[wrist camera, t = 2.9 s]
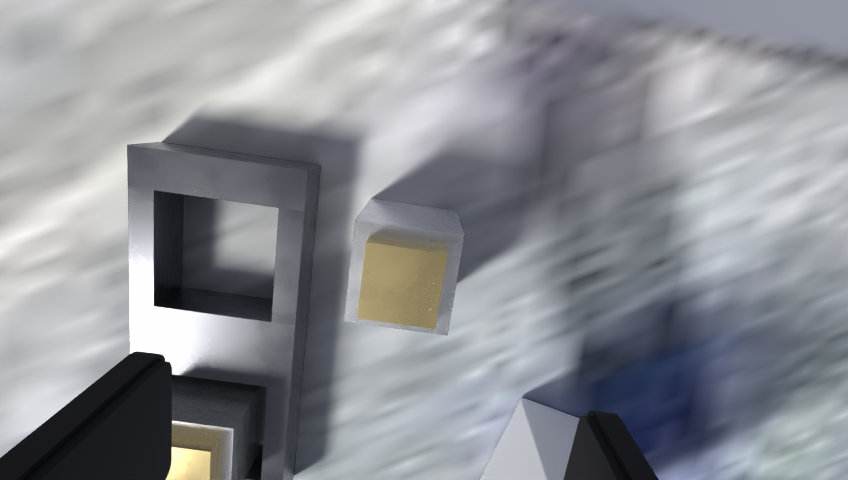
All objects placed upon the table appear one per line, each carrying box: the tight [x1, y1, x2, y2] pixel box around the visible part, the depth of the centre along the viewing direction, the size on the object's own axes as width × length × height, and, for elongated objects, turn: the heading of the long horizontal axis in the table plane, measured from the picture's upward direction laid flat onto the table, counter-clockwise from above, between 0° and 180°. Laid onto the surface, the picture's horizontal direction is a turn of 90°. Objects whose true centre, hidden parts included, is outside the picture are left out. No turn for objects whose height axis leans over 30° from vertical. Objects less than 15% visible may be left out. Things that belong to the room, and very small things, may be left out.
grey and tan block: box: [344, 199, 465, 336], centre depth 24 cm, size 5×5×7 cm
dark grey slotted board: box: [127, 142, 321, 480], centre depth 28 cm, size 9×21×3 cm, turn 172°
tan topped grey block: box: [166, 375, 267, 480], centre depth 27 cm, size 5×5×7 cm
